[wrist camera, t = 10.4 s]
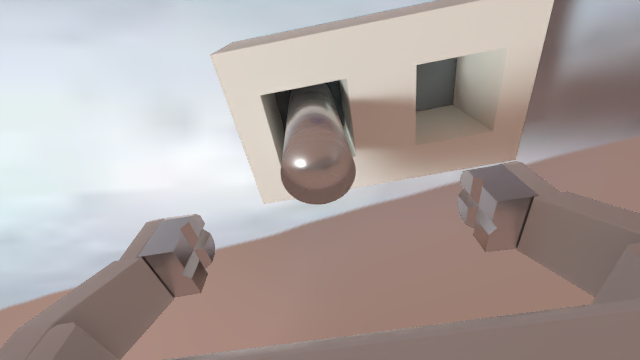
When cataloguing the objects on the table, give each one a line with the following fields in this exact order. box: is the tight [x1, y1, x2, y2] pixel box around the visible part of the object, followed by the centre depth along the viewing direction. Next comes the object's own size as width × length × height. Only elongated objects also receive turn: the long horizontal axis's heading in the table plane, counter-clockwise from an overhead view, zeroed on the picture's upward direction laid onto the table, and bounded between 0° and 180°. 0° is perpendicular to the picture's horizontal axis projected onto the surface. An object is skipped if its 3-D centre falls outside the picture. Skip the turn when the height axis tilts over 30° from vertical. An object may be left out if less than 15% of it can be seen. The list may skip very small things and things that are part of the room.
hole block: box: [210, 0, 554, 204], centre depth 17 cm, size 16×9×5 cm, turn 100°
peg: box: [281, 83, 356, 204], centre depth 15 cm, size 3×3×10 cm
